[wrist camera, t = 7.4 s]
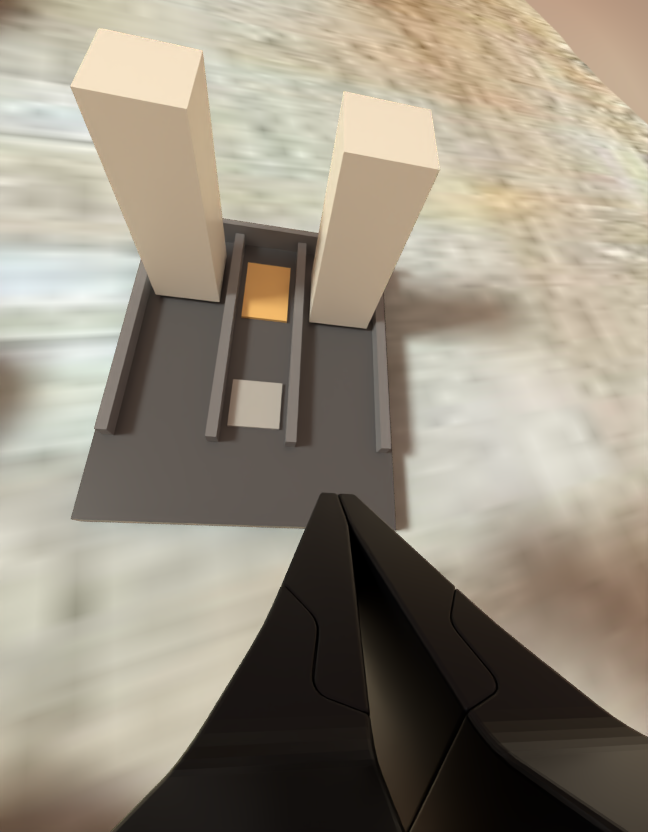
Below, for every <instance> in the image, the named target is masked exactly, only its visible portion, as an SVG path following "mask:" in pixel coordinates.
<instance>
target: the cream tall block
mask: <svg viewBox="0 0 648 832" xmlns="http://www.w3.org/2000/svg"><path fill="white" fill-rule="evenodd" d="M439 171H440V167H439V160H438V154H437V147H436V140H435V134H434V127H433V120H432V113H431V110H429V109H424V108H420V107H415V106H410V105H406V104H401V103H396V102H392V101H387V100H382V99H378V98H373V97H368V96H364V95H359V94H354V93H350V92H345V91H344V93H343V98H342V104H341V110H340V115H339V121H338V127H337V132H336V138H335V144H334V149H333V155H332V161H331V166H330V172H329V178H328V183H327V189H326V195H325V200H324V206H323V212H322V217H321V223H320V229H319V234H318V240H317V245H316V251H315V257H314V262H313V268H312V274H311V291H310V314H309V322H313V323H322V324H331V325H339V326H348V327H356V328H365V329H366V328H367V326H368V324H369V322H370V320H371V318H372V315H373V313H374V311H375V309H376V307H377V305H378V303H379V300H380V298H381V296H382V294H383V292H384V290H385V287H386V285H387V283H388V281H389V279H390V277H391V274H392V272H393V270H394V268H395V266H396V264H397V261H398V259H399V257H400V255H401V253H402V251H403V249H404V246H405V244H406V242H407V240H408V238H409V236H410V233H411V231H412V229H413V227H414V225H415V223H416V220H417V218H418V216H419V214H420V212H421V210H422V208H423V205H424V203H425V201H426V199H427V197H428V195H429V192H430V190H431V188H432V186H433V184H434V182H435V179H436V177H437V175H438V173H439Z"/></svg>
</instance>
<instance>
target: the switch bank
mask: <svg viewBox="0 0 648 832" xmlns="http://www.w3.org/2000/svg"><path fill="white" fill-rule="evenodd" d="M222 219H223V228H224V236H225V245H226V253H227V258H226V264H225V271H224V277H223V283H222V289H221V296H220V302H214V301H206V300H197V299H189V298H181V297H173V296H164V295H156V294H155V292H154V289H153V287H152V284H151V282H150V280H149V277H148V275H147V272H146V270H145V267H144V265H143V262H142V260H140V264H139V268H138V271H137V275H136V278H135V282H134V286H133V289H132V293H131V296H130V300H129V304H128V307H127V311H126V315H125V318H124V322H123V325H122V329H121V333H120V336H119V340H118V343H117V347H116V351H115V354H114V358H113V362H112V365H111V369H110V372H109V376H108V380H107V383H106V387H105V390H104V394H103V398H102V401H101V405H100V409H99V412H98V416H97V419H96V423H95V427H94V429H95V432H94V436H93V440H92V443H91V447H90V451H89V454H88V458H87V462H86V465H85V469H84V472H83V476H82V480H81V483H80V487H79V491H78V494H77V498H76V502H75V505H74V509H73V513H72V516H71V519H72V520H77V521H87V522H118V523H148V524H178V525H209V526H239V527H270V528H300V529H305V528H306V526H307V524H308V521H309V519H310V516H311V514H312V512H313V509H314V507H315V505H316V502H317V500H318V497H319V495H320V494H321V493H323V492H324V493H336V494H337V495H338V494H354V495H356V496H357V497H358V498H359V499H360V500H361V501H362V502H363V503H365V504H366V505H367V506H368V507H369V508H370V509H371V510H372V511H373V512H374V513H375V514H377V515H378V516H379V517H380V518H381V519H382V520H383V521H384V522H385V523H386V524H387V525H389V526H390V527H391V528H392V529H393V530H396V521H395V502H394V482H393V463H392V444H391V425H390V406H389V386H388V367H387V348H386V329H385V310H384V292H383V294H382V296H381V298H380V300H379V303H378V305H377V307H376V309H375V311H374V313H373V315H372V318H371V320H370V322H369V324H368V326H367V328H366V329H365V328H356V327H348V326H339V325H331V324H322V323H313V322H309V314H310V291H311V274H312V268H313V262H314V257H315V251H316V245H317V240H318V234H319V233H314V232H308V231H301V230H295V229H289V228H282V227H276V226H269V225H263V224H256V223H250V222H243V221H237V220H230V219H224V218H222Z"/></svg>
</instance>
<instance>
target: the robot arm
mask: <svg viewBox="0 0 648 832" xmlns="http://www.w3.org/2000/svg"><path fill="white" fill-rule="evenodd" d="M111 832H648V737H647V736H645V735H643V734H641V733H639V732H638V731H636V730H634V729H632V728H630V727H629V726H627V725H626V724H624V723H623V722H621V721H620V720H618V719H616V718H615V717H613V716H612V715H611V714H609V713H608V712H607V711H605V710H604V709H603V708H601V707H600V706H599V705H597V704H596V703H595V702H594V701H592V700H591V699H590V698H589V697H587V696H586V695H585V694H584V693H582V692H581V691H580V690H579V689H577V688H576V687H575V686H574V685H572V684H571V683H570V682H568V681H567V680H566V679H565V678H563V677H562V676H561V675H560V674H558V673H557V672H556V671H555V670H553V669H552V668H551V667H550V666H548V665H547V664H546V663H545V662H543V661H542V660H541V659H540V658H538V657H537V656H536V655H535V654H533V653H532V652H531V651H529V650H528V649H527V648H526V647H524V646H523V645H522V644H521V643H520V642H518V641H517V640H516V639H515V638H513V637H512V636H511V635H510V634H509V633H507V632H506V631H505V630H504V629H503V628H501V627H500V626H499V625H498V624H496V623H495V622H494V621H493V620H492V619H491V618H490V617H488V616H487V615H486V614H485V613H484V612H483V611H482V610H480V609H479V608H478V607H477V606H476V605H475V604H474V603H473V602H471V601H470V600H469V599H468V598H467V597H466V596H465V595H464V594H463V593H462V592H461V591H459V590H458V589H456V590H455V586H454V585H453V584H452V583H451V582H449V581H448V580H447V579H446V578H445V577H444V576H443V575H442V574H441V573H440V572H439V571H438V570H436V569H435V568H434V567H433V566H432V565H431V564H430V563H429V562H428V561H427V560H426V559H424V558H423V557H422V556H421V555H420V554H419V553H418V552H417V551H416V550H415V549H414V548H412V547H411V546H410V545H409V544H408V543H407V542H406V541H405V540H404V539H403V538H402V537H400V536H399V535H398V534H397V533H396V532H395V531H394V530H393V529H392V528H391V527H390V526H389V525H387V524H386V523H385V522H384V521H383V520H382V519H381V518H380V517H379V516H378V515H377V514H375V513H374V512H373V511H372V510H371V509H370V508H369V507H368V506H367V505H366V504H365V503H363V502H362V501H361V500H360V499H359V498H358V497H357V496H356V495H354V494H338V495H337V494H336V493H324V492H323V493H321V494H320V495H319V497H318V500H317V502H316V505H315V507H314V509H313V512H312V514H311V516H310V519H309V521H308V524H307V526H306V528H305V531H304V533H303V535H302V538H301V540H300V542H299V545H298V547H297V550H296V552H295V554H294V557H293V559H292V561H291V564H290V566H289V568H288V571H287V573H286V576H285V578H284V580H283V583H282V586H281V587H280V589H279V591H278V594H277V596H276V599H275V601H274V603H273V605H272V607H271V609H270V612H269V614H268V616H267V618H266V620H265V622H264V624H263V626H262V628H261V629H260V631H259V633H258V635H257V637H256V638H255V640H254V642H253V644H252V646H251V647H250V649H249V651H248V652H247V654H246V656H245V657H244V659H243V661H242V662H241V664H240V665H239V667H238V669H237V670H236V672H235V674H234V675H233V677H232V679H231V680H230V682H229V683H228V685H227V687H226V688H225V690H224V692H223V693H222V695H221V697H220V698H219V700H218V701H217V703H216V705H215V706H214V708H213V710H212V711H211V713H210V715H209V716H208V718H207V719H206V721H205V723H204V724H203V726H202V727H201V729H200V730H199V732H198V733H197V735H196V737H195V738H194V739H193V741H192V742H191V744H190V745H189V747H188V748H187V750H186V751H185V752H184V754H183V755H182V756H181V758H180V759H179V760H178V762H177V763H176V764H175V765H174V767H173V768H172V769H171V770H170V771H169V773H168V774H167V775H166V776H165V777H164V778H163V779H162V780H161V781H160V782H159V783H158V784H157V785H156V786H155V787H154V788H153V789H152V790H151V791H150V792H149V793H148V794H147V795H146V796H145V797H144V798H143V799H142V800H141V801H140V802H139V803H138V804H137V805H136V806H135V807H134V808H133V809H132V810H131V812H130V813H129V814H128V815H127V816H126V817H125V818H124V819H123V820H122V821H121V822H120V823H119V824H118V825H117V826H116V827H115V828H114V829H113V830H112V831H111Z"/></svg>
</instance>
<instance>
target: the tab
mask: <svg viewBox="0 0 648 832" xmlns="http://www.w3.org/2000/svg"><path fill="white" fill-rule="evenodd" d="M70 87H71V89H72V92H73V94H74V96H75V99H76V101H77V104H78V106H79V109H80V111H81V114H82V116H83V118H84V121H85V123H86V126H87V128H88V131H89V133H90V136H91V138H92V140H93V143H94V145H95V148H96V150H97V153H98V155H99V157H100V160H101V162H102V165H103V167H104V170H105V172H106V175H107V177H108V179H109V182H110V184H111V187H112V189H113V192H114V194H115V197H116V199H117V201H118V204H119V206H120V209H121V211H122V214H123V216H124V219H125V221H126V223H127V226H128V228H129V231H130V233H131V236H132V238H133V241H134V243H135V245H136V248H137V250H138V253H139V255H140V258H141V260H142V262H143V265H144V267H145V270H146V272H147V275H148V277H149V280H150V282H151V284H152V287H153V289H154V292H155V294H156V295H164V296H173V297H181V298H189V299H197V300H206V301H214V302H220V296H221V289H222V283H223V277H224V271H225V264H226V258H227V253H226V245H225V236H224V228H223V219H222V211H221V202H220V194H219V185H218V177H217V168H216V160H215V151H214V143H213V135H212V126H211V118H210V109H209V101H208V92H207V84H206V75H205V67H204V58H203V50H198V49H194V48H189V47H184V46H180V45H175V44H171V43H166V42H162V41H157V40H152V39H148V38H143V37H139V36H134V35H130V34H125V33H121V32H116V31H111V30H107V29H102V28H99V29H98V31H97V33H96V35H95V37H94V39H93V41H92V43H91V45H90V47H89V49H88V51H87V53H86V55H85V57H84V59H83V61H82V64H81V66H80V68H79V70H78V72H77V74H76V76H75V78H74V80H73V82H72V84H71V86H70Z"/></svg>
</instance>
